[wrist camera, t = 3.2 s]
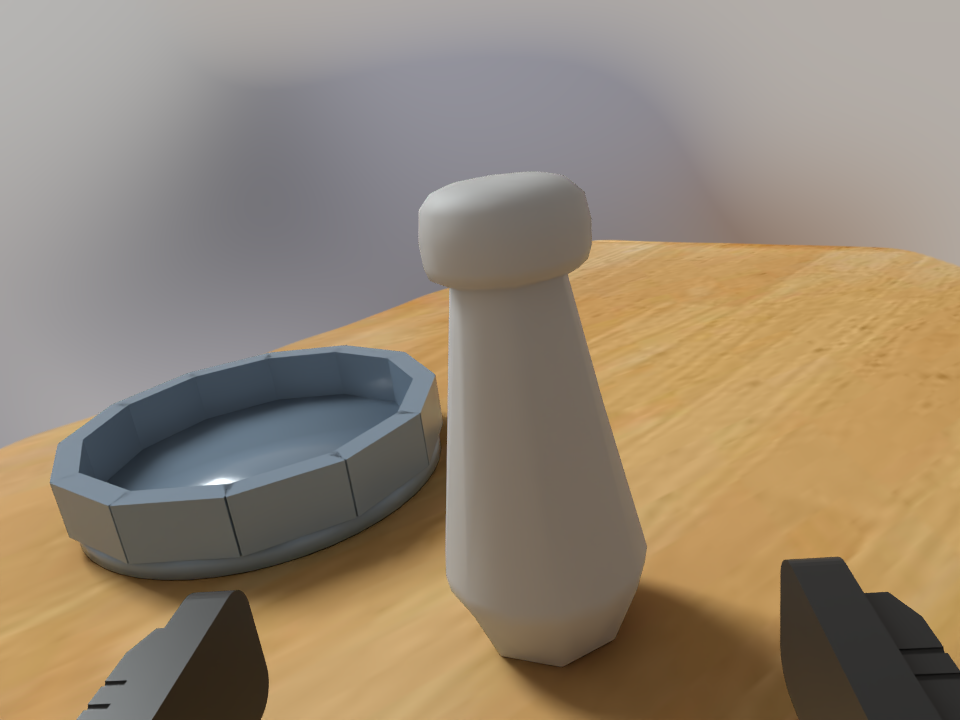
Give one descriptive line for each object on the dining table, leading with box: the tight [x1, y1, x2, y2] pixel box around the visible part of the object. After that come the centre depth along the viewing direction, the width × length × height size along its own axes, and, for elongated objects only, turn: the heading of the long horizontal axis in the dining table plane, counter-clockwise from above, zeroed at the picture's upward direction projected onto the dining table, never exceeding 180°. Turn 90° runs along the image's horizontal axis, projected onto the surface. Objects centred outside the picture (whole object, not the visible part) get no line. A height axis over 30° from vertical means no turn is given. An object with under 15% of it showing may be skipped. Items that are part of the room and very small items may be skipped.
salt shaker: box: [418, 172, 647, 667], centre depth 20 cm, size 6×6×13 cm
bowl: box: [50, 345, 443, 580], centre depth 34 cm, size 16×16×3 cm
